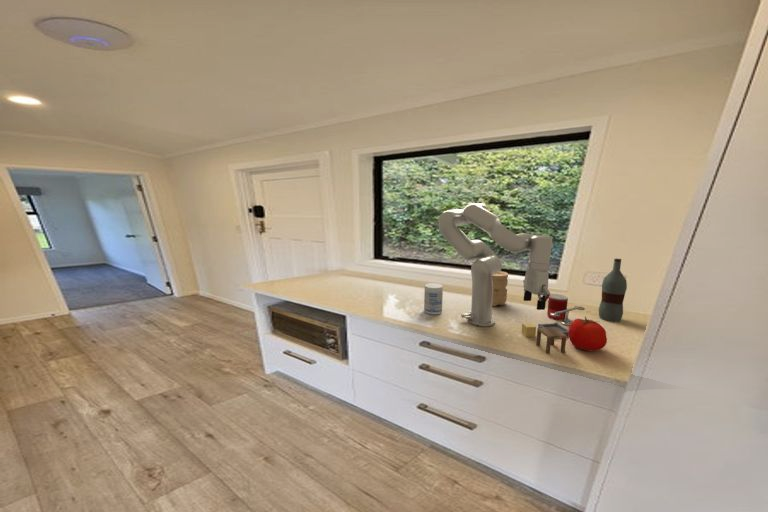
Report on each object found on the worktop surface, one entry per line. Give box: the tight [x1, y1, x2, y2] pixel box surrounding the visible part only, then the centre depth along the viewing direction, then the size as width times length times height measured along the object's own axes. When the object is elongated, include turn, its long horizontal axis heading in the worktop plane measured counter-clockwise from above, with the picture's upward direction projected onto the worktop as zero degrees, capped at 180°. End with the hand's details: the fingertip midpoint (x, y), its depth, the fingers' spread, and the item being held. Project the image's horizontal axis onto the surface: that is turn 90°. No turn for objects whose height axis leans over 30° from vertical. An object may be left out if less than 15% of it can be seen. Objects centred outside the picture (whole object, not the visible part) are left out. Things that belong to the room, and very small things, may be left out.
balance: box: [550, 305, 585, 327], centre depth 131 cm, size 16×4×8 cm, turn 95°
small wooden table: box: [535, 327, 568, 355], centre depth 110 cm, size 7×7×7 cm
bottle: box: [598, 258, 628, 323], centre depth 134 cm, size 9×9×30 cm
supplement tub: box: [423, 282, 444, 316], centre depth 148 cm, size 10×10×15 cm
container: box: [492, 270, 509, 307], centre depth 159 cm, size 13×13×18 cm
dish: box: [537, 322, 569, 338], centre depth 124 cm, size 9×9×2 cm
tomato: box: [568, 316, 608, 352], centre depth 109 cm, size 12×13×12 cm
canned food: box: [546, 293, 569, 321], centre depth 139 cm, size 8×8×11 cm
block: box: [521, 322, 537, 338], centre depth 122 cm, size 4×4×4 cm
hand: (533, 304), depth 118 cm, fingers open, 9 cm apart
